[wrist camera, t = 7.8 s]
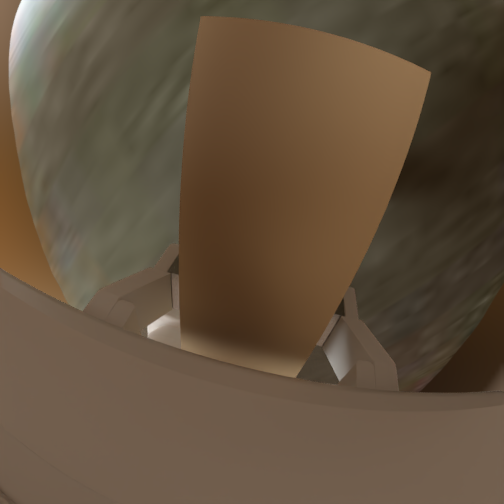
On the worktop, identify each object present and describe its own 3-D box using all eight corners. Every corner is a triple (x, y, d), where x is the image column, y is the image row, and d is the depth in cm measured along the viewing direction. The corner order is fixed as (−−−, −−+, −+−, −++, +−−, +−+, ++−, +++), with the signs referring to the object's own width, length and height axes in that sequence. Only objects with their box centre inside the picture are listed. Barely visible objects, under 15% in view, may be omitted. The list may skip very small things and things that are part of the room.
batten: (370, 72, 7) (431, 72, 3) (272, 357, 17) (258, 429, 13) (252, 44, 7) (201, 15, 3) (210, 341, 17) (186, 410, 13)
